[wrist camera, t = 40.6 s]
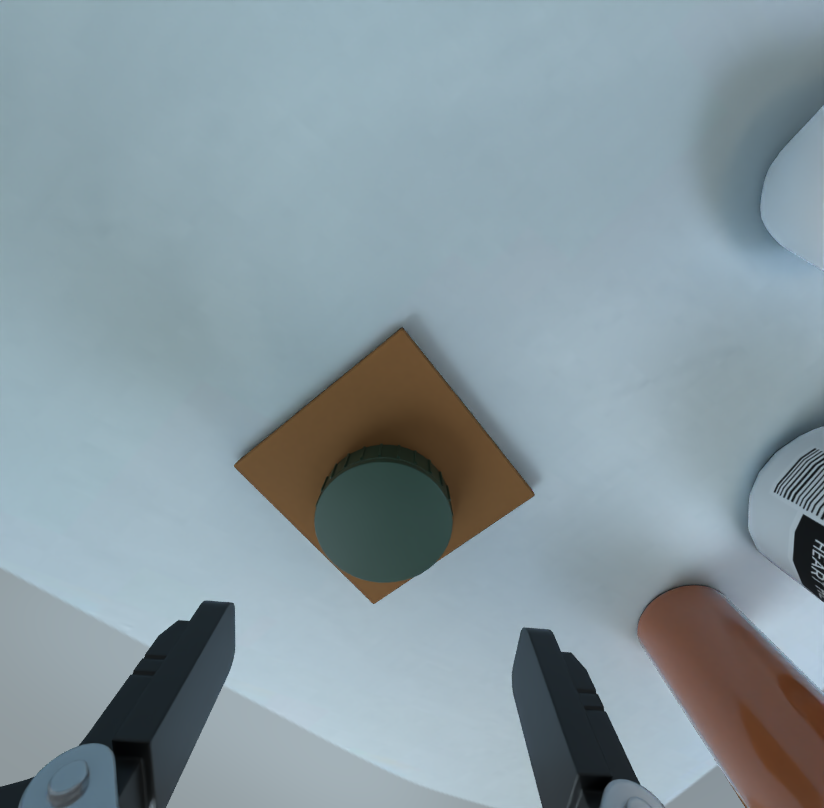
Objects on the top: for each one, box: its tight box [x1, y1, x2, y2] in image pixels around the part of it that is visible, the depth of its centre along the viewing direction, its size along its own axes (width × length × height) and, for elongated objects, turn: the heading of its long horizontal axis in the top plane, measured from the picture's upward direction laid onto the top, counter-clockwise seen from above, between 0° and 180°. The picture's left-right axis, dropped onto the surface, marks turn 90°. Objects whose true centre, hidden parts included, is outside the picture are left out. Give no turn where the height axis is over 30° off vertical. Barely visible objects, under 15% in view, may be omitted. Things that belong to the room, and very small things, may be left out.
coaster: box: [234, 328, 535, 604], centre depth 19 cm, size 10×10×1 cm
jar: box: [637, 585, 824, 808], centre depth 16 cm, size 5×5×14 cm
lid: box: [314, 444, 453, 583], centre depth 18 cm, size 6×6×2 cm
